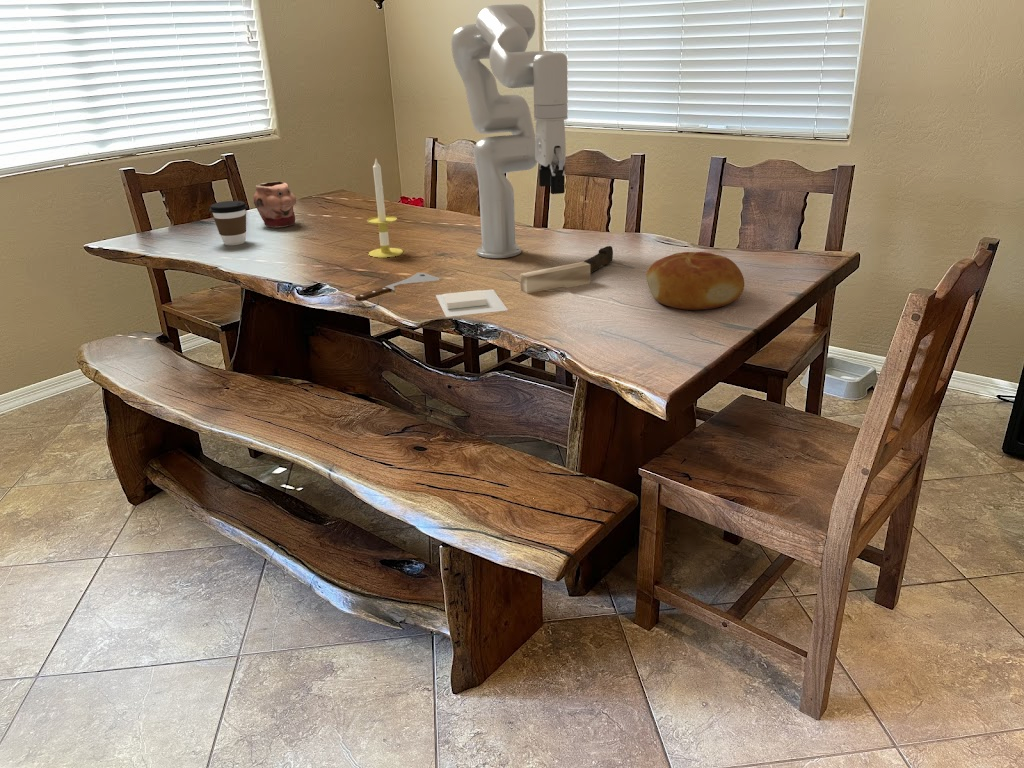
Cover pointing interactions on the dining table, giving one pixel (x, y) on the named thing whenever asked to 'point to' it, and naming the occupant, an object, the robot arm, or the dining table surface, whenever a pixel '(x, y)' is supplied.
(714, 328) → the dining table surface
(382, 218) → the candle
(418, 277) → the kitchen cleaver
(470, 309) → the mat
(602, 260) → the rusty brown spike
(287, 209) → the decorative planter
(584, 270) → the beige long bar
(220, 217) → the coffee cup
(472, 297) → the tile
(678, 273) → the bread
